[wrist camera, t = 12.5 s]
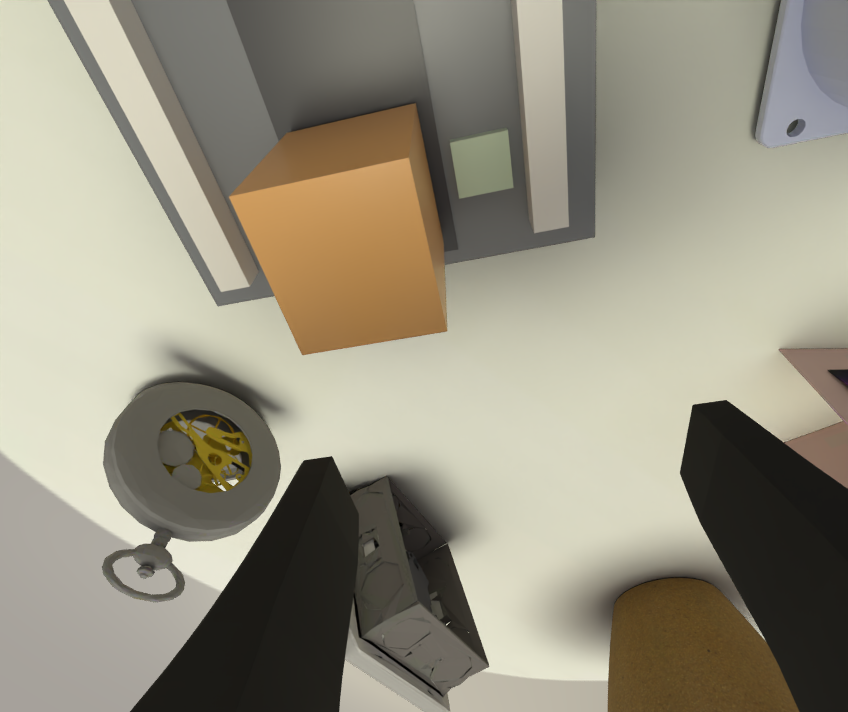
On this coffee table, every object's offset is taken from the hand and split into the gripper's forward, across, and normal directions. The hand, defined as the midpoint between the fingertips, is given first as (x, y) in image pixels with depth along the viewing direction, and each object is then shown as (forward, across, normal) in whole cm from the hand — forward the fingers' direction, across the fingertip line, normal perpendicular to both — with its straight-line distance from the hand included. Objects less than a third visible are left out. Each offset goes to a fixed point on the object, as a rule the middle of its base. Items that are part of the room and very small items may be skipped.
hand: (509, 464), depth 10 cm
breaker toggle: (+8, +3, -4) cm, 9 cm away
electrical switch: (+11, +6, +16) cm, 21 cm away
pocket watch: (+11, +13, +6) cm, 19 cm away
